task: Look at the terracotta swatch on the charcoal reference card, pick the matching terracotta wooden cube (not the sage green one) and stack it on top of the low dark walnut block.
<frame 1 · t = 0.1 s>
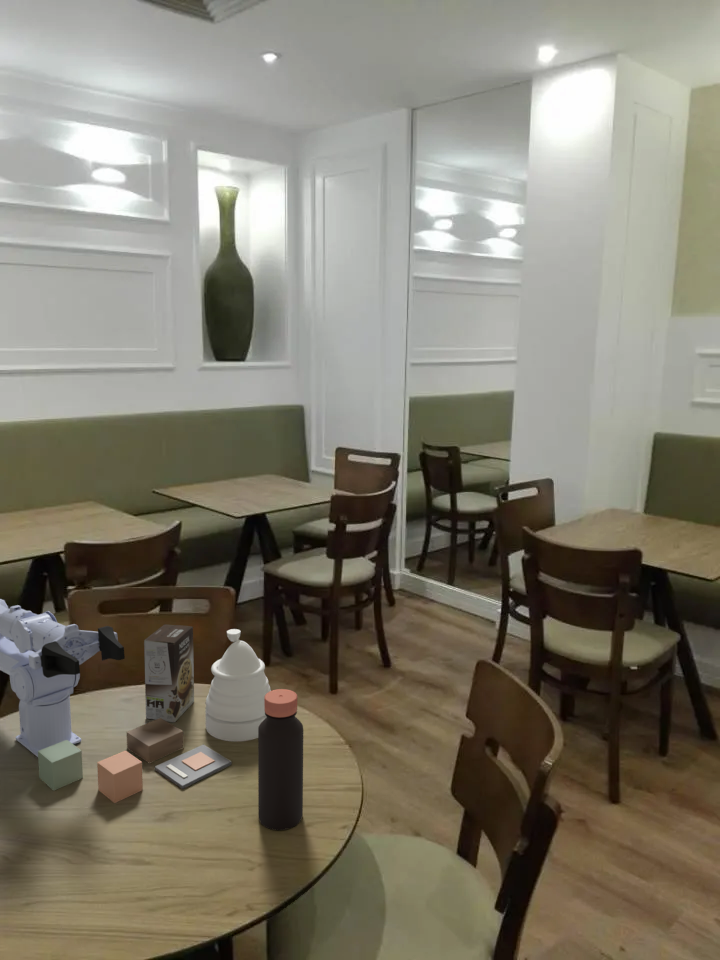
hand: (100, 660, 118), 22 cm above the table, tool horizontal, fingers open, 7 cm apart
reference card: (193, 767, 128), on the table
honey pot: (240, 724, 143), on the table
terracotta block: (120, 790, 121), on the table
sage block: (61, 778, 124), on the table
bottle: (280, 818, 115), on the table
walnut base: (155, 749, 134), on the table
coffee box: (171, 710, 147), on the table
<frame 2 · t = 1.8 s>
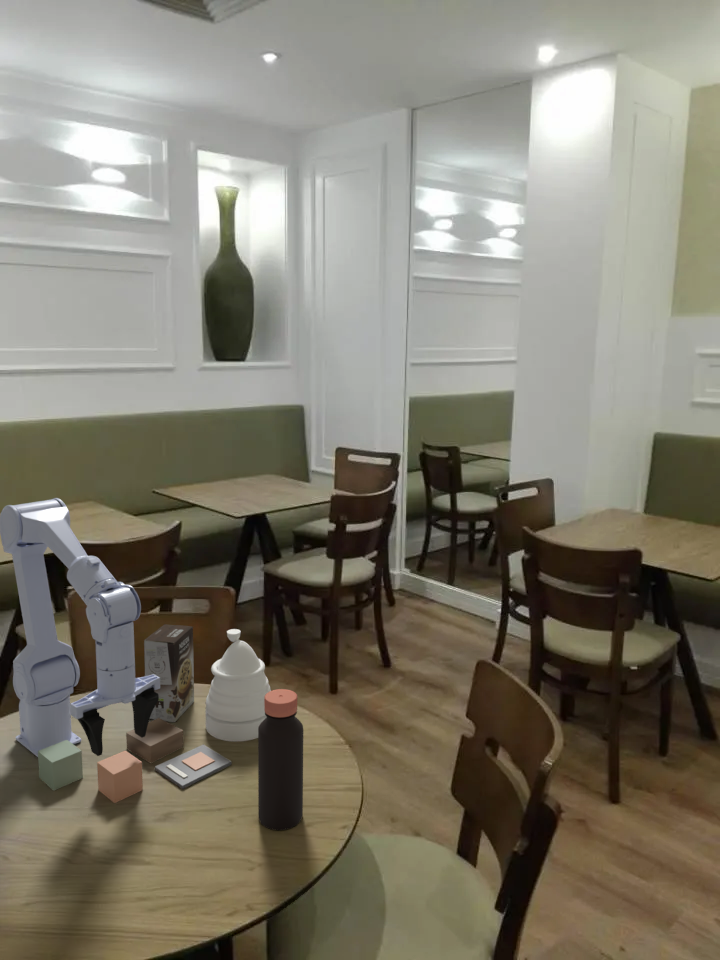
hand: (119, 743, 119), 8 cm above the table, tool pointing down, fingers open, 7 cm apart
nothing on the table moved.
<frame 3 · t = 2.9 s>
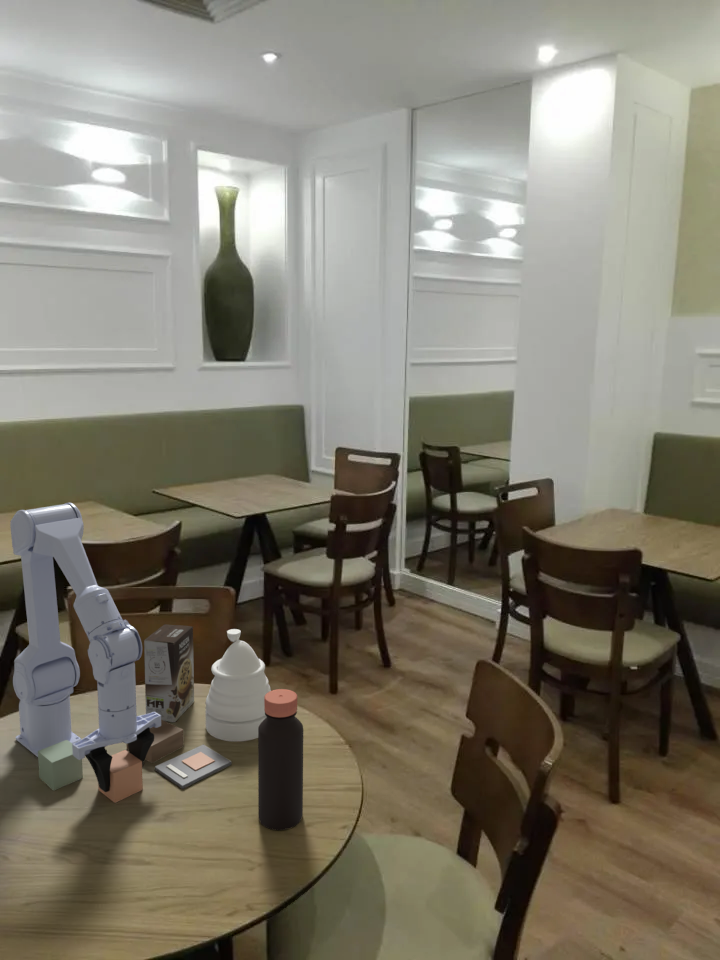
hand: (120, 781, 121), 1 cm above the table, tool pointing down, fingers closed on terracotta block, 5 cm apart
terracotta block: (120, 789, 121), on the table, touching gripper
everything else where it was.
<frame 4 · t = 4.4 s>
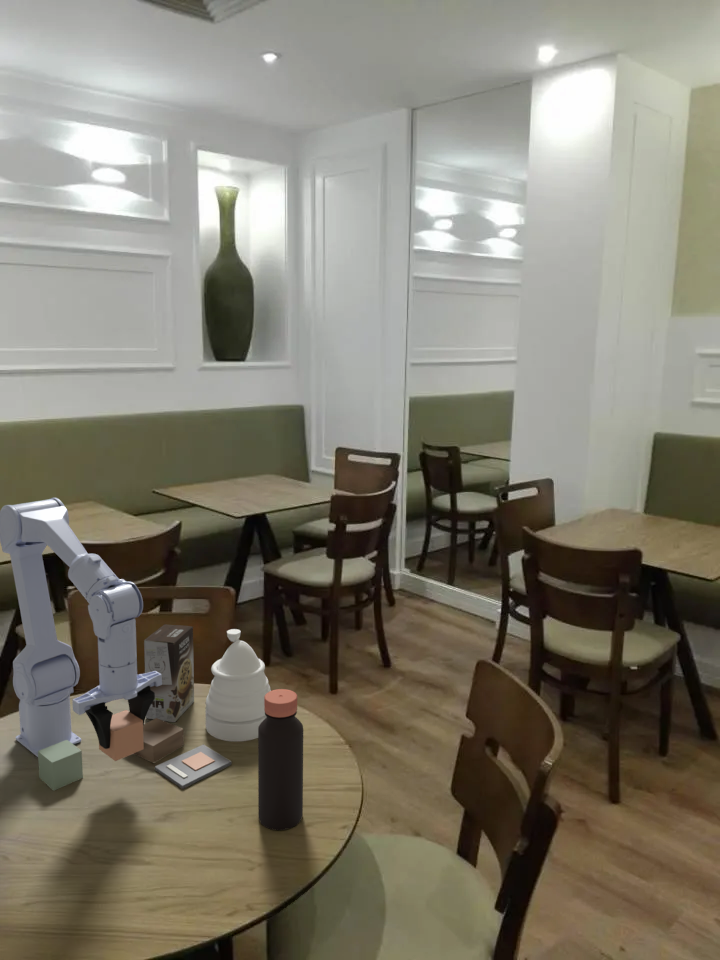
hand: (120, 739, 120), 8 cm above the table, tool pointing down, fingers closed on terracotta block, 5 cm apart
terracotta block: (121, 749, 120), point 7 cm above the table, touching gripper
everything else where it was.
when the fingers open (6 cm above the table, at t = 6.1 s): terracotta block drops 1 cm, resting on walnut base.
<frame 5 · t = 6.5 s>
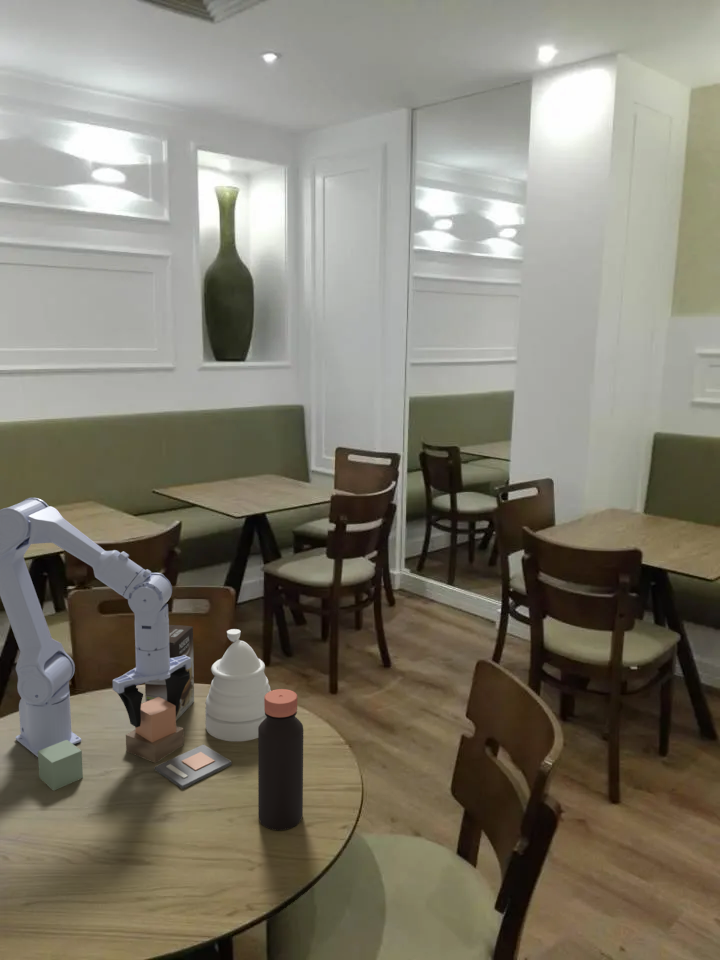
hand: (154, 717, 132), 6 cm above the table, tool pointing down, fingers open, 7 cm apart
terracotta block: (155, 732, 133), point 3 cm above the table, touching walnut base
walnut base: (155, 749, 134), on the table, touching terracotta block
everything else where it was.
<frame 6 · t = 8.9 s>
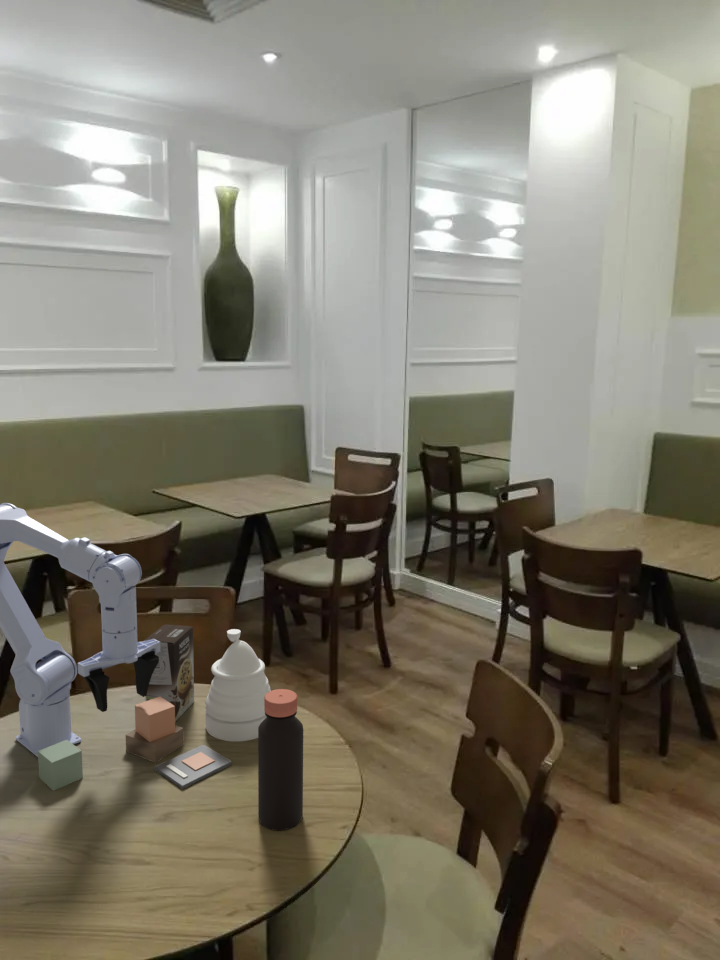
hand: (122, 701, 129), 10 cm above the table, tool pointing down, fingers open, 7 cm apart
nothing on the table moved.
at the end: terracotta block 0.1 cm off-centre on the walnut base, point 3.5 cm above the walnut base's base; terracotta block tilted 0°; sage block moved 0.1 cm from its start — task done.
